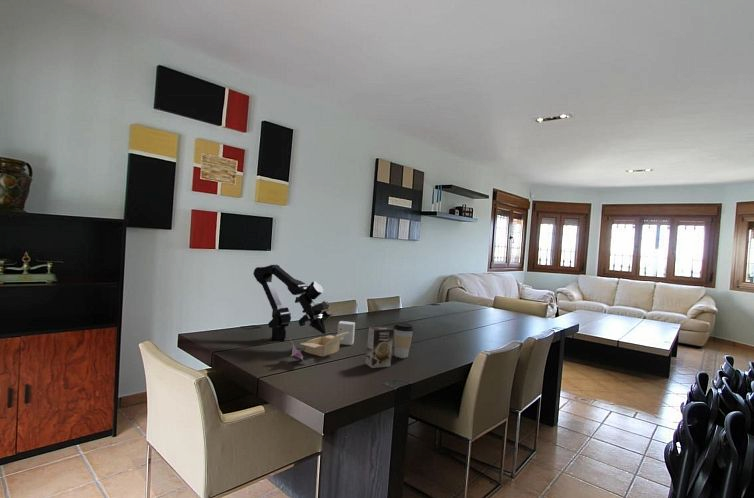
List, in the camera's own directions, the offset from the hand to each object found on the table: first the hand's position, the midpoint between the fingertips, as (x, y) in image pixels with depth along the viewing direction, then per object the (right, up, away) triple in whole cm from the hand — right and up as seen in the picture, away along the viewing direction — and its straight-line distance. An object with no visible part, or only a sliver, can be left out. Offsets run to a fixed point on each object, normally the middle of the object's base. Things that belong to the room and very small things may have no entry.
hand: (324, 333), depth 182 cm
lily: (-9, -9, -19) cm, 23 cm away
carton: (-1, -8, +1) cm, 9 cm away
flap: (+6, -1, -3) cm, 7 cm away
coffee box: (+24, -11, -12) cm, 30 cm away
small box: (+8, -9, +18) cm, 22 cm away
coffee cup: (+35, -12, +3) cm, 37 cm away
